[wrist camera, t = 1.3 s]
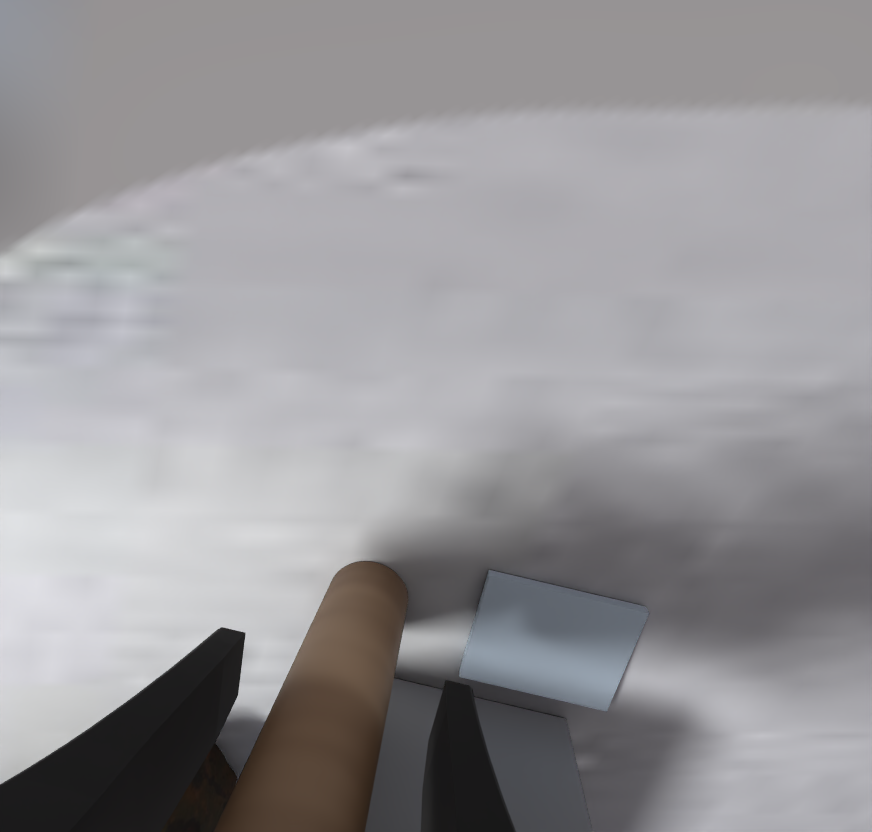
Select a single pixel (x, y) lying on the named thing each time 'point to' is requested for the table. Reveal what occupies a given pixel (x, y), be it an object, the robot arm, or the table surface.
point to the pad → (551, 640)
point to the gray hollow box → (510, 755)
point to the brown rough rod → (204, 796)
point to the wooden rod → (327, 714)
